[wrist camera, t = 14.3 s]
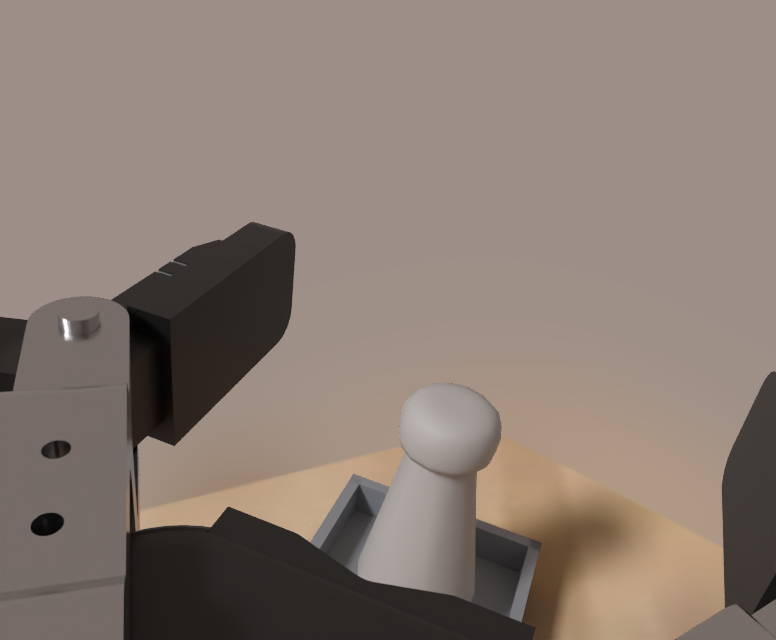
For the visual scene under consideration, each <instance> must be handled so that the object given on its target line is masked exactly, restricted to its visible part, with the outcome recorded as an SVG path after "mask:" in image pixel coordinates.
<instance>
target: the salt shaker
mask: <svg viewBox="0 0 776 640" xmlns="http://www.w3.org/2000/svg"><path fill="white" fill-rule="evenodd" d="M399 434H400V443H401V447H402V448H403V449H404V451H405V453H404V456H403V458H402V460H401V462H400V465H399V467H398V469H397V472H396V474H395V476H394V479H393V481H392V483H391V486H390V488H389V490H388V492H387V495H386V497H385V499H384V502H383V504H382V506H381V509H380V511H379V513H378V516H377V518H376V520H375V522H374V525H373V527H372V529H371V532H370V534H369V536H368V539H367V541H366V543H365V546H364V548H363V550H362V552H361V555H360V557H359V559H358V576H359V577H361V578H363V579H365V580H368V581H372V582H377V583H383V584H389V585H395V586H400V587H406V588H412V589H418V590H424V591H430V592H436V593H442V594H448V595H454V596H456V597H459V598H461V599H464V600H466V601H469V602H471V600H472V598H473V595H474V593H475V532H476V480H477V471H479V470H481V469H484V468H486V467H487V465H488V464H489V463H490V461H491V460H492V458H493V456H494V454H495V452H496V450H497V447H498V445H499V442H500V439H501V422H500V417H499V413H498V411H497V410H496V409H495V408H494V407H493V406H492V405H491V403H490V402H489V401H488V400H487V399H486V398H485V397H484V396H483V395H481V394H480V393H478V392H476V391H474V390H472V389H471V388H469V387H465V386H461V385H457V384H452V383H436V384H432V385H429V386H427V387H424V388H422V389H420V390H417V391H415V392H414V393H413V394H412V395H411V396H410V397H409V399H408V400H407V401H406V402H405V405H404V407H403V409H402V412H401V414H400V422H399Z"/></svg>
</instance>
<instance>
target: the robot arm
mask: <svg viewBox="0 0 776 640" xmlns="http://www.w3.org/2000/svg"><path fill="white" fill-rule="evenodd" d="M294 261H295V239H294V236H293V235H292V233H290V232H286V231H283V230H279V229H276V228H272V227H269V226H265V225H262V224H258V223H255V222H251V223H249V224H247V225H246V226H244V227H243V228H241V229H240V230H238V231H237V232H235V233H234V234H232V235H231V236H229V237H228V238H226V239H225V240H223V241H221V240H217V241H213V242H210V243H206V244H202V245H199V246H196V247H192V248H191V249H189V250H188V251H186V252H185V253H183V254H182V255H180V256H178V257H177V258H175V259H174V261H173V263H172V262H169V263H168V264H166V265H165V266H163V267H161V268H160V269H159V271H158V273H157V272H154V273H152V274H151V275H149V276H147V277H146V278H144V279H143V280H141V281H140V282H138V283H137V284H135V285H134V286H132V287H131V288H129V289H127V290H126V291H124V292H123V293H121V294H120V295H118V296H117V297H115V298H114V299H112V300H108V299H104V298H98V297H71V298H65V299H61V300H57V301H54V302H51V303H48V304H46V305H44V306H42V307H40V308H39V309H37V310H36V311H35V312H34V313H32V314H31V316H30V317H29V319H28V320H21V319H12V318H4V317H0V640H532V639H533V635H534V631H535V627H532V626H530V625H527V624H525V623H522V622H520V621H517V620H515V619H512V618H509V617H507V616H504V615H502V614H499V613H497V612H494V611H492V610H489V609H487V608H484V607H482V606H479V605H477V604H474V603H471V602H469V601H466V600H464V599H461V598H459V597H456V596H454V595H448V594H442V593H436V592H430V591H424V590H418V589H412V588H406V587H400V586H395V585H389V584H383V583H377V582H372V581H368V580H365V579H363V578H361V577H359V576H358V575H356V574H355V573H353V572H352V571H350V570H349V569H347V568H346V567H345V566H343V565H342V564H340V563H339V562H337V561H336V560H334V559H333V558H332V557H330V556H329V555H327V554H326V553H324V552H323V551H321V550H320V549H319V548H317V547H316V546H314V545H313V544H311V543H310V542H308V541H307V540H306V539H304V538H303V537H301V536H300V535H298V534H296V533H294V532H291V531H289V530H286V529H284V528H281V527H279V526H276V525H274V524H271V523H269V522H266V521H264V520H261V519H258V518H256V517H253V516H251V515H248V514H246V513H243V512H241V511H238V510H236V509H233V508H231V507H227V509H226V510H225V511H224V512H223V513H222V515H221V516H220V517H219V518H218V520H217V521H216V522H215V523H214V525H213V526H212V527H204V526H188V525H179V526H163V527H155V528H148V529H143V530H140V505H139V504H140V502H139V453H138V444H139V443H140V442H141V441H142V440H143V439H144V438H145V437H146V436H150V437H152V438H155V439H158V440H160V441H163V442H165V443H168V444H171V445H173V446H175V445H176V444H177V443H178V442H179V441H180V440H181V438H183V437H184V436H185V435H186V434H187V433H188V432H189V431H190V430H191V429H192V428H193V427H194V426H195V425H196V424H197V423H198V422H199V421H200V420H201V419H202V418H203V417H204V416H205V415H206V414H207V413H208V412H209V411H210V410H211V409H212V408H213V407H214V406H215V405H216V404H217V403H218V402H219V401H220V400H221V399H222V398H223V397H224V396H225V395H226V394H227V393H228V392H229V391H230V390H231V389H232V388H233V387H234V386H235V385H236V384H237V383H238V382H239V381H240V380H241V379H242V378H243V377H244V376H245V375H246V374H247V373H248V372H249V371H250V370H251V369H252V368H253V367H254V366H255V365H256V364H257V363H258V362H259V361H260V360H261V359H262V358H263V357H264V356H265V355H266V354H267V353H268V352H269V351H270V350H271V349H272V348H273V347H274V346H275V345H276V344H277V343H278V342H279V341H280V339H281V338H282V336H283V335H284V333H285V330H286V328H287V326H288V323H289V319H290V315H291V308H292V293H293V277H294ZM722 508H723V509H722V510H723V548H724V586H725V609H723V610H721V611H720V612H718V613H717V614H715V615H713V616H712V617H710V618H709V619H707V620H705V621H704V622H702V623H701V624H699V625H697V626H696V627H694V628H693V629H691V630H689V631H688V632H686V633H684V634H683V635H681V636H680V637H678V638H676V639H675V640H776V372H771V373H770V374H769V375H768V376H767V378H766V379H765V381H764V383H763V385H762V387H761V389H760V391H759V393H758V395H757V397H756V399H755V401H754V403H753V405H752V407H751V410H750V412H749V414H748V416H747V418H746V420H745V422H744V424H743V426H742V428H741V430H740V433H739V435H738V437H737V439H736V441H735V443H734V445H733V447H732V450H731V452H730V454H729V457H728V460H727V463H726V467H725V471H724V475H723V482H722Z"/></svg>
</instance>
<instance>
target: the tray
mask: <svg viewBox="0 0 776 640" xmlns="http://www.w3.org/2000/svg"><path fill="white" fill-rule="evenodd" d="M389 488H390V487H388V486H385V485H382V484H380V483H377V482H374V481H371V480H369V479H366V478H363V477H361V476H358V475H355V474H353V475H352V477H351V479H350V480H349V482H348V483H347V485H346V487H345V488H344V490H343V491H342V493H341V494H340V496H339V498H338V499H337V501H336V502H335V504H334V506H333V507H332V509H331V510H330V512H329V513H328V515H327V517H326V518H325V520H324V521H323V523H322V525H321V526H320V528H319V529H318V531H317V532H316V534H315V536H314V537H313V539H312V540H311V542H310V543H311V544H313V545H314V546H316V547H317V548H319V549H320V550H321V551H323V552H324V553H326V554H327V555H329V556H330V557H332V558H333V559H334V560H336V561H337V562H339V563H340V564H342V565H343V566H345V567H346V568H347V569H349V570H350V571H352V572H353V573H355V574H356V575H358V559H359V557H360V555H361V552H362V550H363V548H364V546H365V543H366V541H367V539H368V536H369V534H370V532H371V529H372V527H373V525H374V522H375V520H376V518H377V516H378V513H379V511H380V509H381V506H382V504H383V502H384V499H385V497H386V495H387V492H388V490H389ZM540 547H541V543H540V542H537V541H535V540H532V539H529V538H526V537H524V536H521V535H518V534H516V533H513V532H510V531H507V530H505V529H502V528H499V527H497V526H494V525H491V524H488V523H486V522H483V521H480V520H478V519H476V532H475V593H474V595H473V598H472V600H471V603H474V604H477V605H479V606H482V607H484V608H487V609H489V610H492V611H494V612H497V613H499V614H502V615H504V616H507V617H509V618H512V619H515V620H517V621H520V622H522V618H523V614H524V610H525V606H526V602H527V598H528V594H529V590H530V586H531V582H532V578H533V574H534V570H535V566H536V563H537V559H538V555H539V551H540Z"/></svg>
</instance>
